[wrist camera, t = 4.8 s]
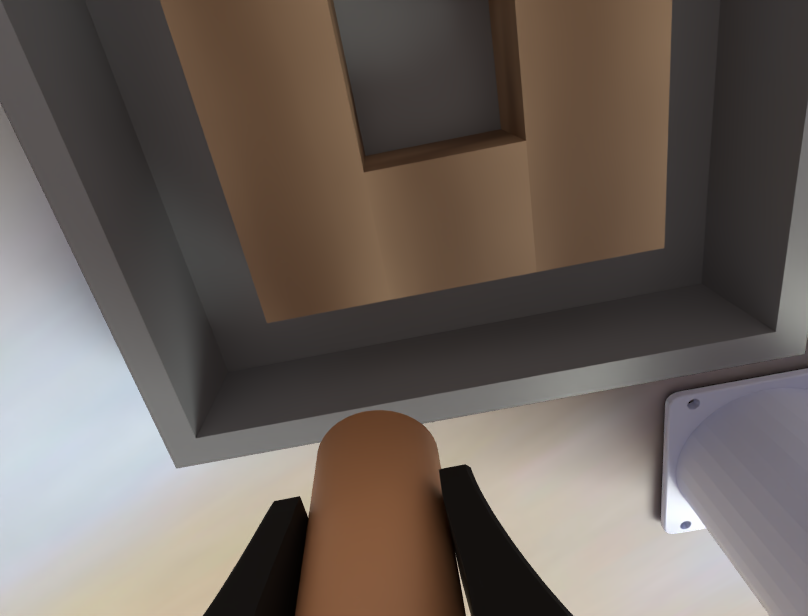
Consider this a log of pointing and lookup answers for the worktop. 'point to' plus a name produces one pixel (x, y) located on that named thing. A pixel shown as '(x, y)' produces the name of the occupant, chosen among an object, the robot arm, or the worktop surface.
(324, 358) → the tray
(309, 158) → the socket block
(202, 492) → the worktop surface
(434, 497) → the peg
